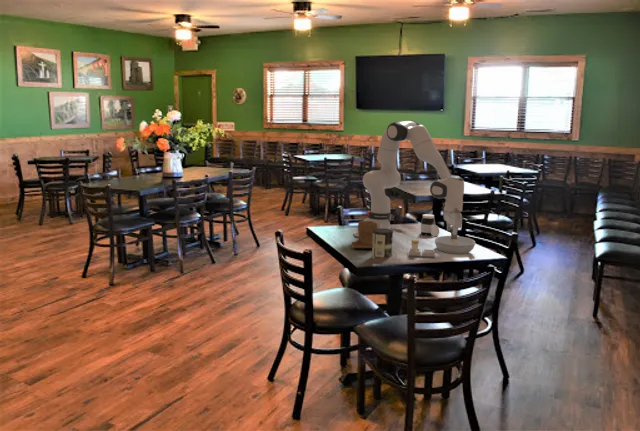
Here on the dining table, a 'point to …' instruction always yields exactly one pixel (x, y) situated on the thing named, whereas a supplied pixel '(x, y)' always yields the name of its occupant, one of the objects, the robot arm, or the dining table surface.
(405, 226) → the dining table surface
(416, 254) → the fuse block
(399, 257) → the dining table surface
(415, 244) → the fuse
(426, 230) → the spread jar
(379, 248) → the coffee can
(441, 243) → the serving bowl
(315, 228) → the dining table surface
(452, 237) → the fuse
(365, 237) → the wooden napkin holder
